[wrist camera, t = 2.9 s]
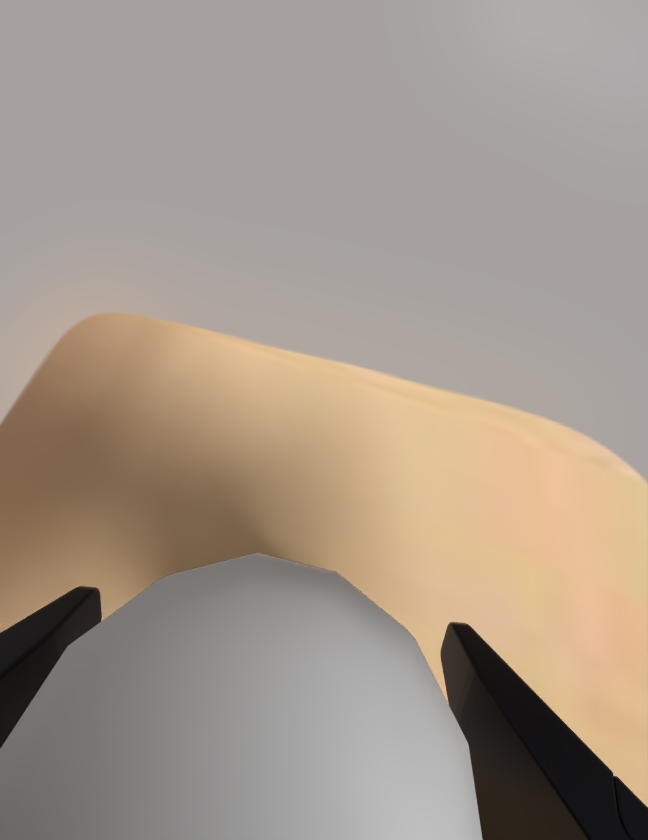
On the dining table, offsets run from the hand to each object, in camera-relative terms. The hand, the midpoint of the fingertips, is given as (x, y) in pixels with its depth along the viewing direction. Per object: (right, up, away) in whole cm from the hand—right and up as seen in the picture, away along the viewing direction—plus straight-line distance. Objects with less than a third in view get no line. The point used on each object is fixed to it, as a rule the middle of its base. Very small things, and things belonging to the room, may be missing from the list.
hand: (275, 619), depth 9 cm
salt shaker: (-1, -4, +6) cm, 7 cm away
